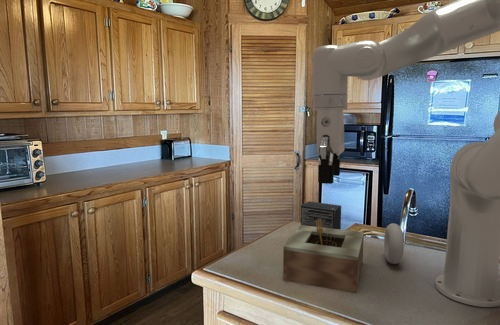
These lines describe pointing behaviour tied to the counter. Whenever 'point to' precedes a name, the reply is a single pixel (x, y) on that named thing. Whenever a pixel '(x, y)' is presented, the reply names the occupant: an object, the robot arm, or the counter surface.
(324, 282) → the drop box
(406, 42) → the robot arm
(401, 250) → the donut
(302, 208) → the small box
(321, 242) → the utensil holder
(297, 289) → the counter surface
